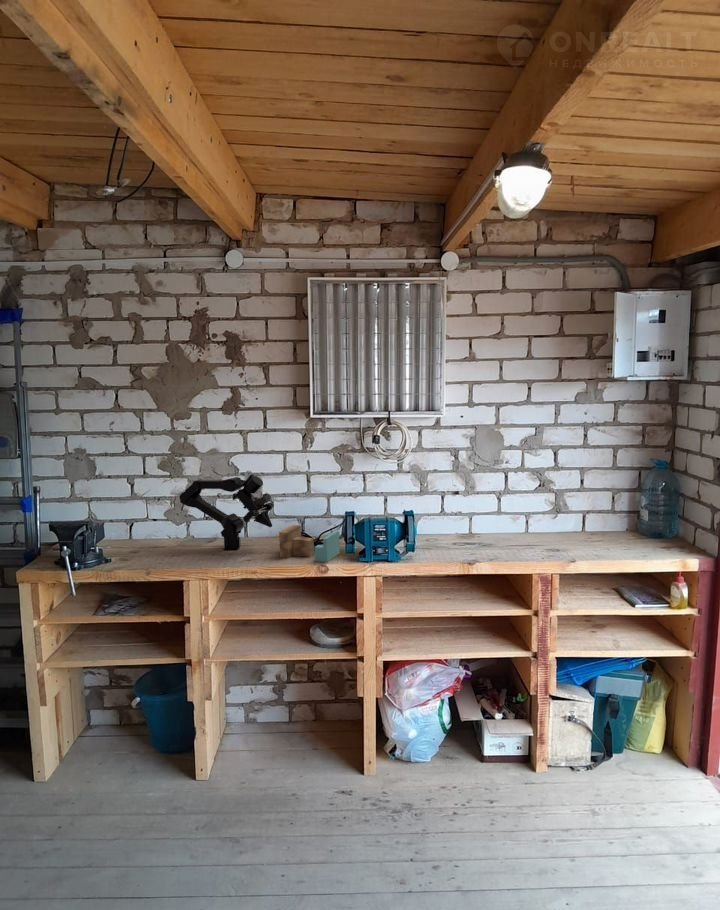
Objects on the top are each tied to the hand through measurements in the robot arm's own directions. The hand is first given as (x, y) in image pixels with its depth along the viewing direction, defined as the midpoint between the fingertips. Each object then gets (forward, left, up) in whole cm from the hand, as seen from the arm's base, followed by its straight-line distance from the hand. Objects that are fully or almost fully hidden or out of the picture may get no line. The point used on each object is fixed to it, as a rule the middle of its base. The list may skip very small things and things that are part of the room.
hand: (271, 526), depth 277 cm
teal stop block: (+25, -8, -11) cm, 29 cm away
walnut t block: (+12, -4, -11) cm, 17 cm away
